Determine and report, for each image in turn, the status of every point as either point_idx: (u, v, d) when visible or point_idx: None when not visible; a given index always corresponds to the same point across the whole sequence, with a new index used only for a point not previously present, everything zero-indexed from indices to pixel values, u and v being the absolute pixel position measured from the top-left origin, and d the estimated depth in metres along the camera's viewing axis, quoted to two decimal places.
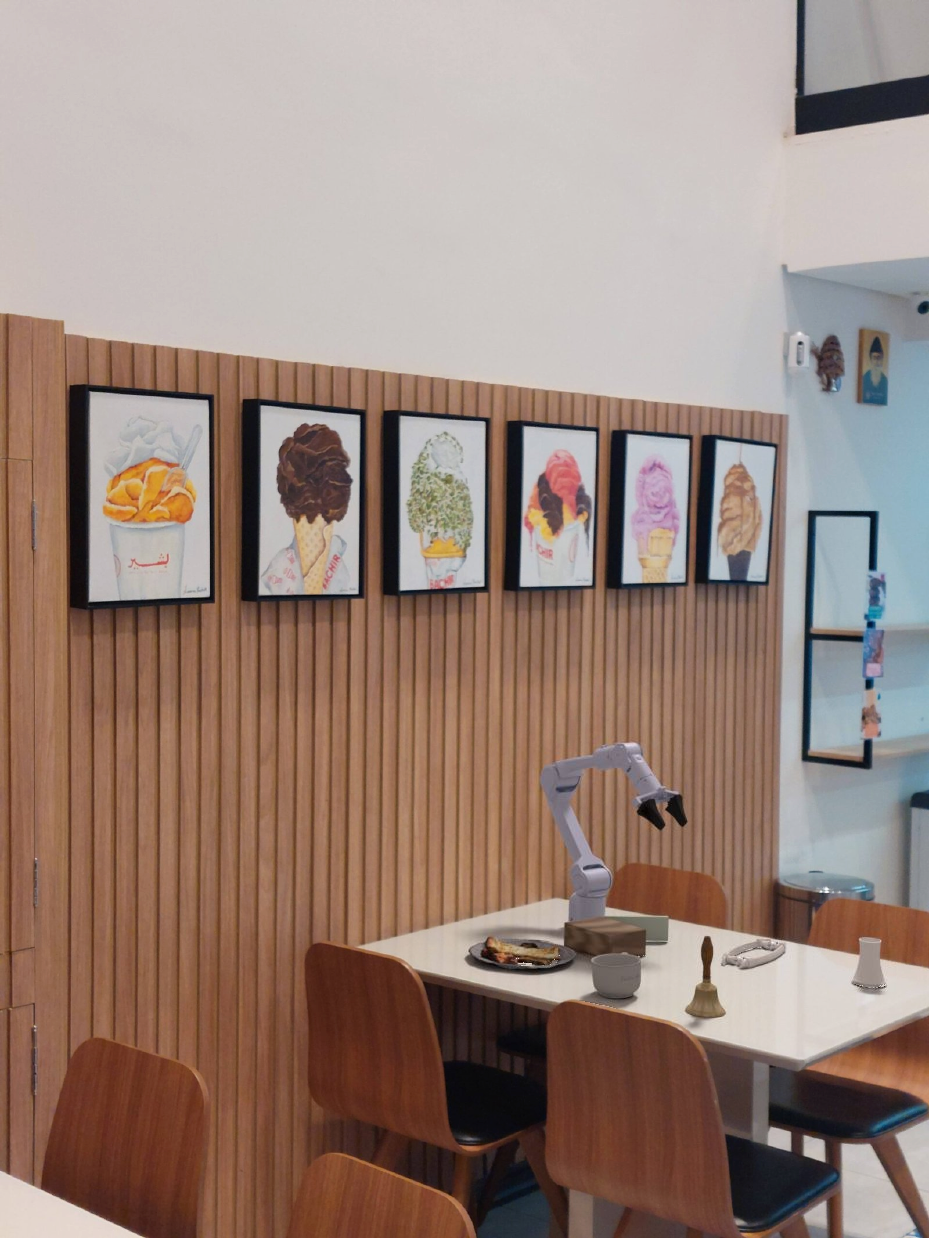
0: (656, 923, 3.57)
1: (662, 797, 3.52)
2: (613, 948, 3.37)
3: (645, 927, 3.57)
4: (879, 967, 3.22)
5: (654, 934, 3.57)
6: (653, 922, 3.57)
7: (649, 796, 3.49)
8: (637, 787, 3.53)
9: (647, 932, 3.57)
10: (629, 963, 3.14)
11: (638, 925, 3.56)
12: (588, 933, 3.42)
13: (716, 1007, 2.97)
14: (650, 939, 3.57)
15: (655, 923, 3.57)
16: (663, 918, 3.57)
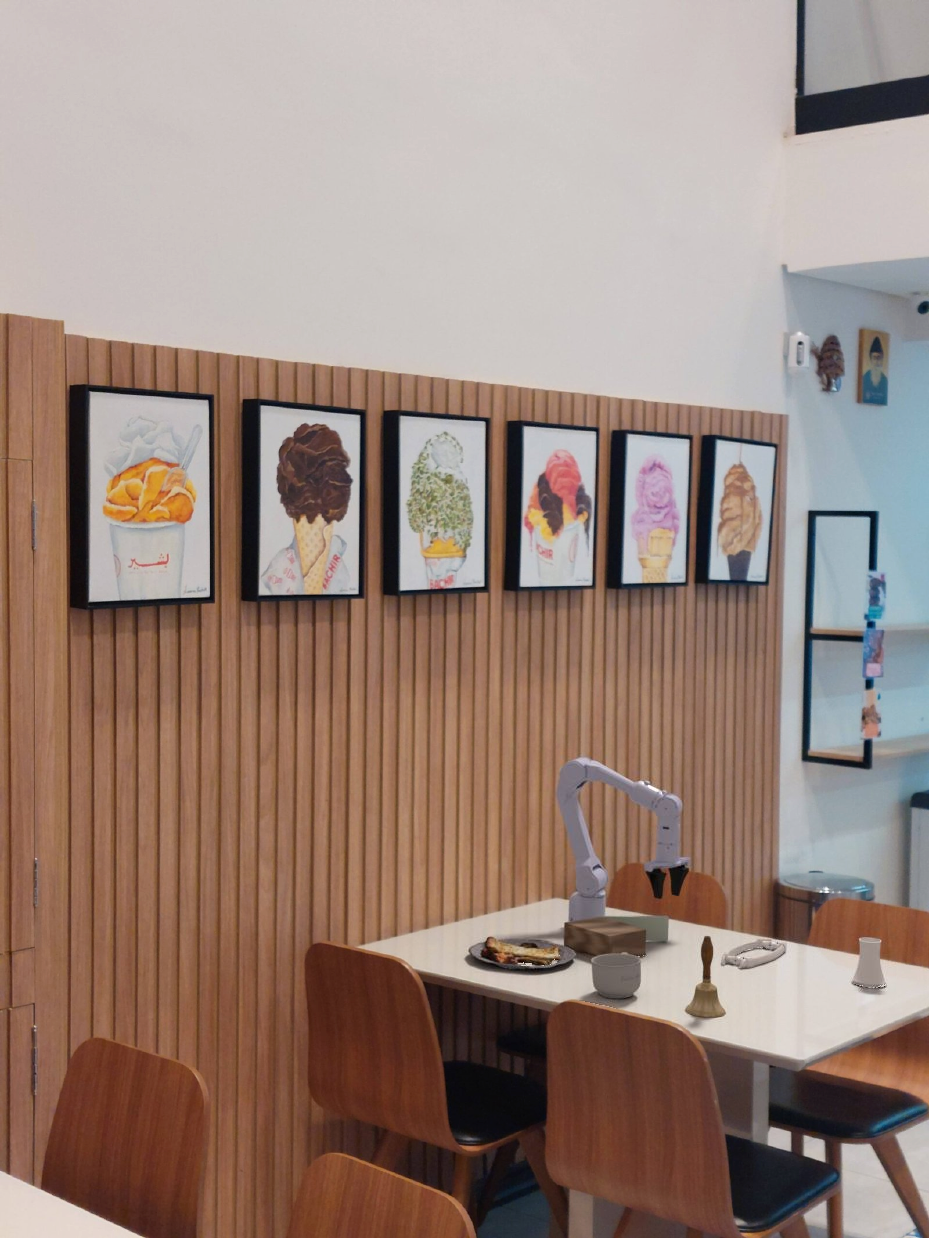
0: (656, 923, 3.57)
1: None
2: (613, 948, 3.37)
3: (645, 927, 3.57)
4: (879, 967, 3.22)
5: (654, 934, 3.57)
6: (653, 922, 3.57)
7: (662, 865, 3.58)
8: (658, 846, 3.60)
9: (647, 932, 3.57)
10: (629, 962, 3.14)
11: (638, 925, 3.56)
12: (588, 933, 3.42)
13: (716, 1007, 2.97)
14: (650, 939, 3.57)
15: (655, 923, 3.57)
16: (663, 918, 3.57)
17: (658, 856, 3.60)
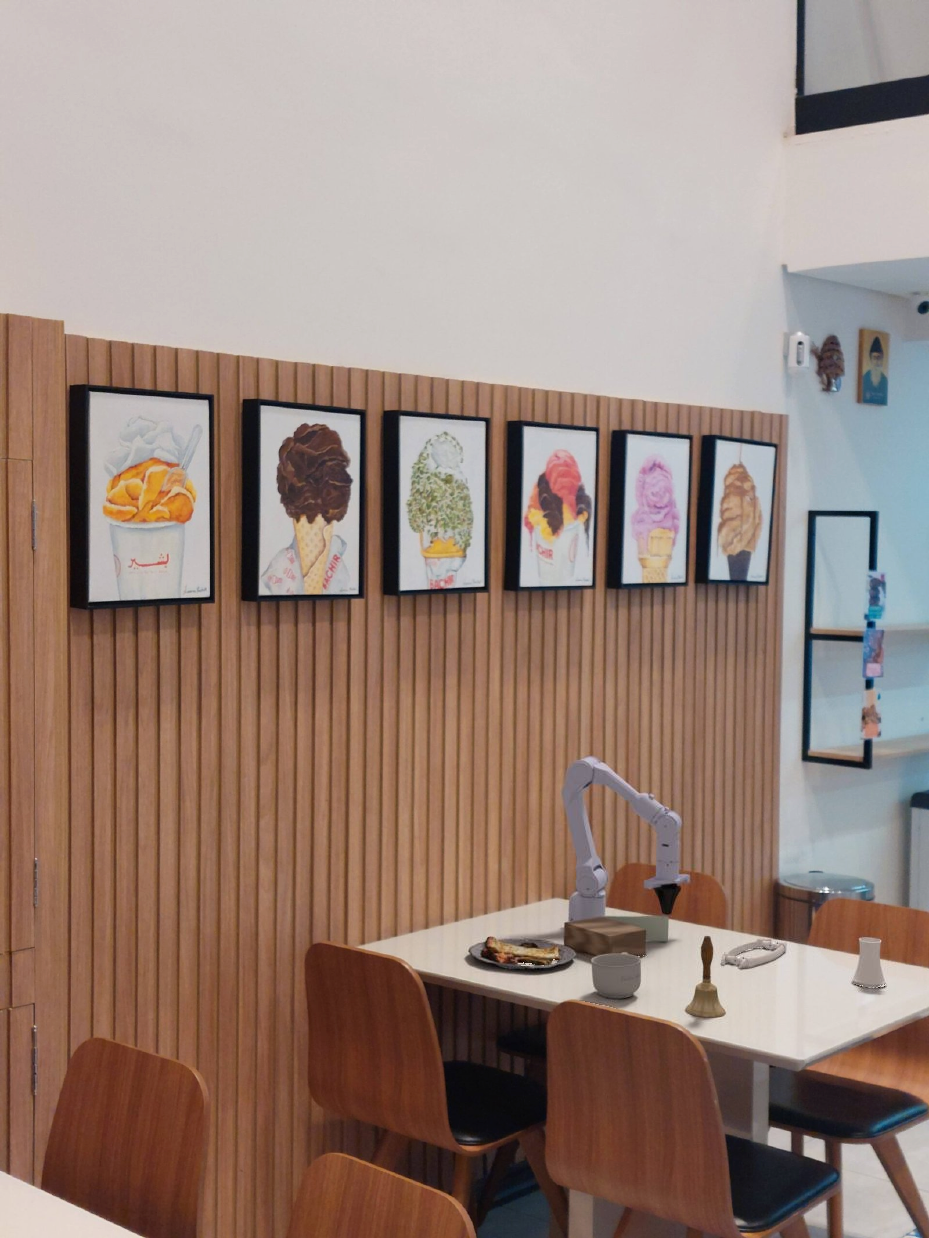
0: (656, 923, 3.57)
1: None
2: (613, 948, 3.37)
3: (645, 927, 3.57)
4: (879, 967, 3.22)
5: (654, 934, 3.57)
6: (653, 922, 3.57)
7: None
8: (658, 863, 3.60)
9: (647, 932, 3.57)
10: (629, 962, 3.14)
11: (638, 925, 3.56)
12: (588, 933, 3.42)
13: (716, 1007, 2.97)
14: (650, 939, 3.57)
15: (655, 923, 3.57)
16: (663, 918, 3.57)
17: (658, 873, 3.60)
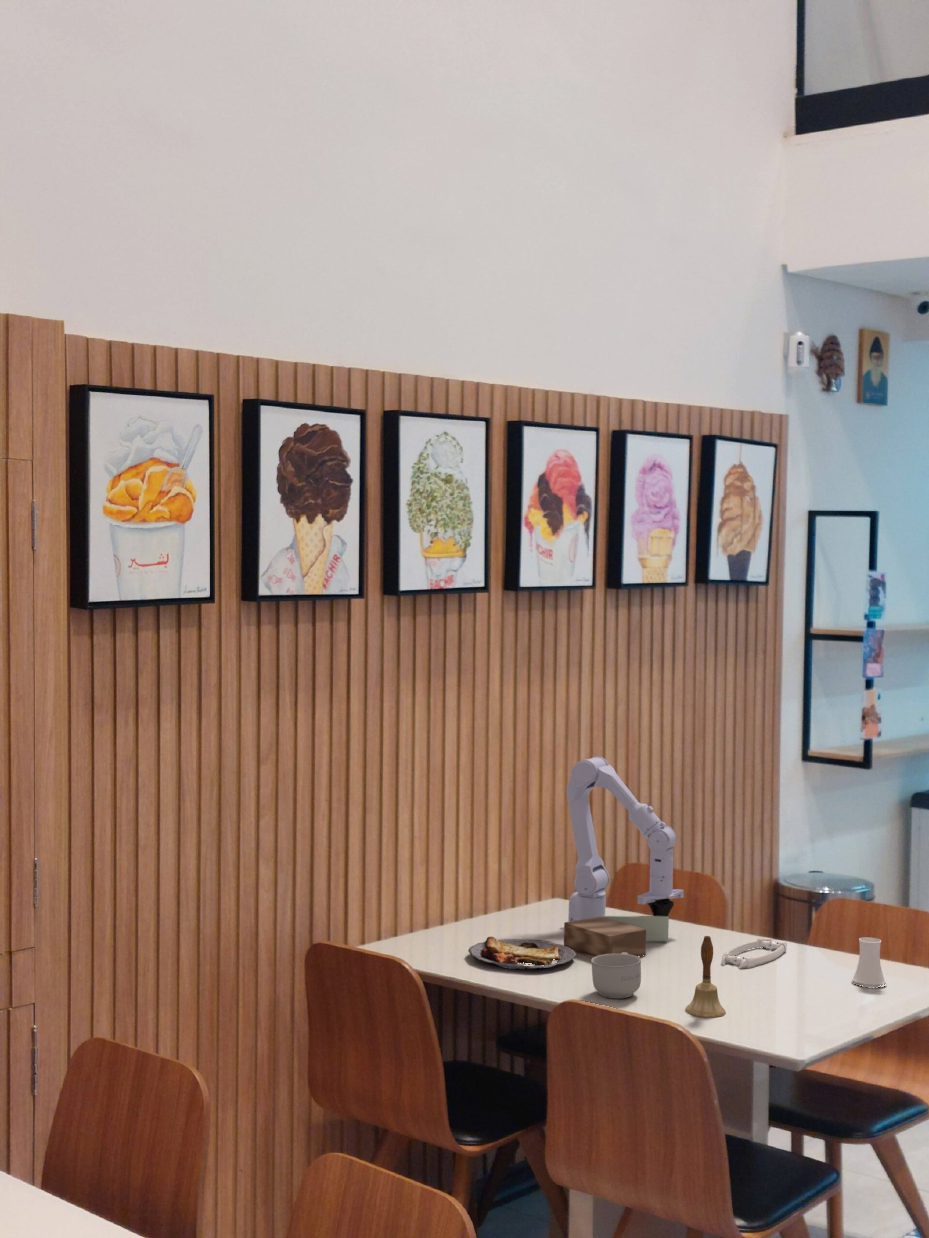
0: (656, 923, 3.57)
1: None
2: (613, 948, 3.37)
3: (645, 927, 3.56)
4: (879, 967, 3.22)
5: (654, 934, 3.57)
6: (653, 922, 3.56)
7: (655, 898, 3.57)
8: (651, 879, 3.59)
9: (647, 932, 3.57)
10: (629, 963, 3.14)
11: (638, 925, 3.56)
12: (588, 933, 3.42)
13: (716, 1007, 2.97)
14: (650, 939, 3.57)
15: (655, 923, 3.57)
16: (663, 918, 3.57)
17: (651, 889, 3.59)
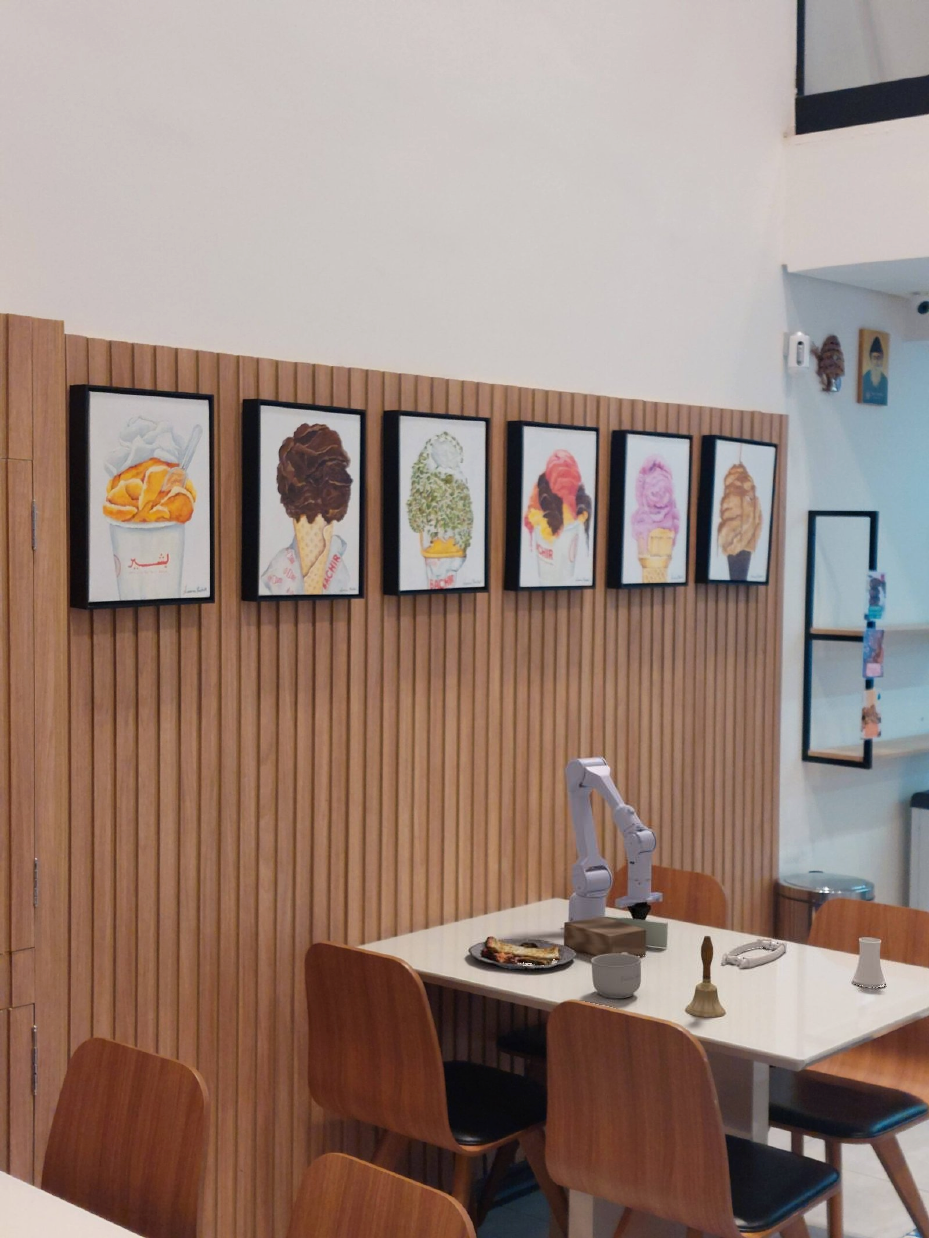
0: (654, 928, 3.51)
1: None
2: (613, 948, 3.37)
3: None
4: (879, 967, 3.22)
5: (652, 939, 3.51)
6: (651, 927, 3.51)
7: None
8: (629, 882, 3.54)
9: None
10: (629, 963, 3.14)
11: None
12: (588, 933, 3.42)
13: (716, 1007, 2.97)
14: (648, 944, 3.52)
15: (653, 928, 3.51)
16: (661, 924, 3.50)
17: (629, 892, 3.54)
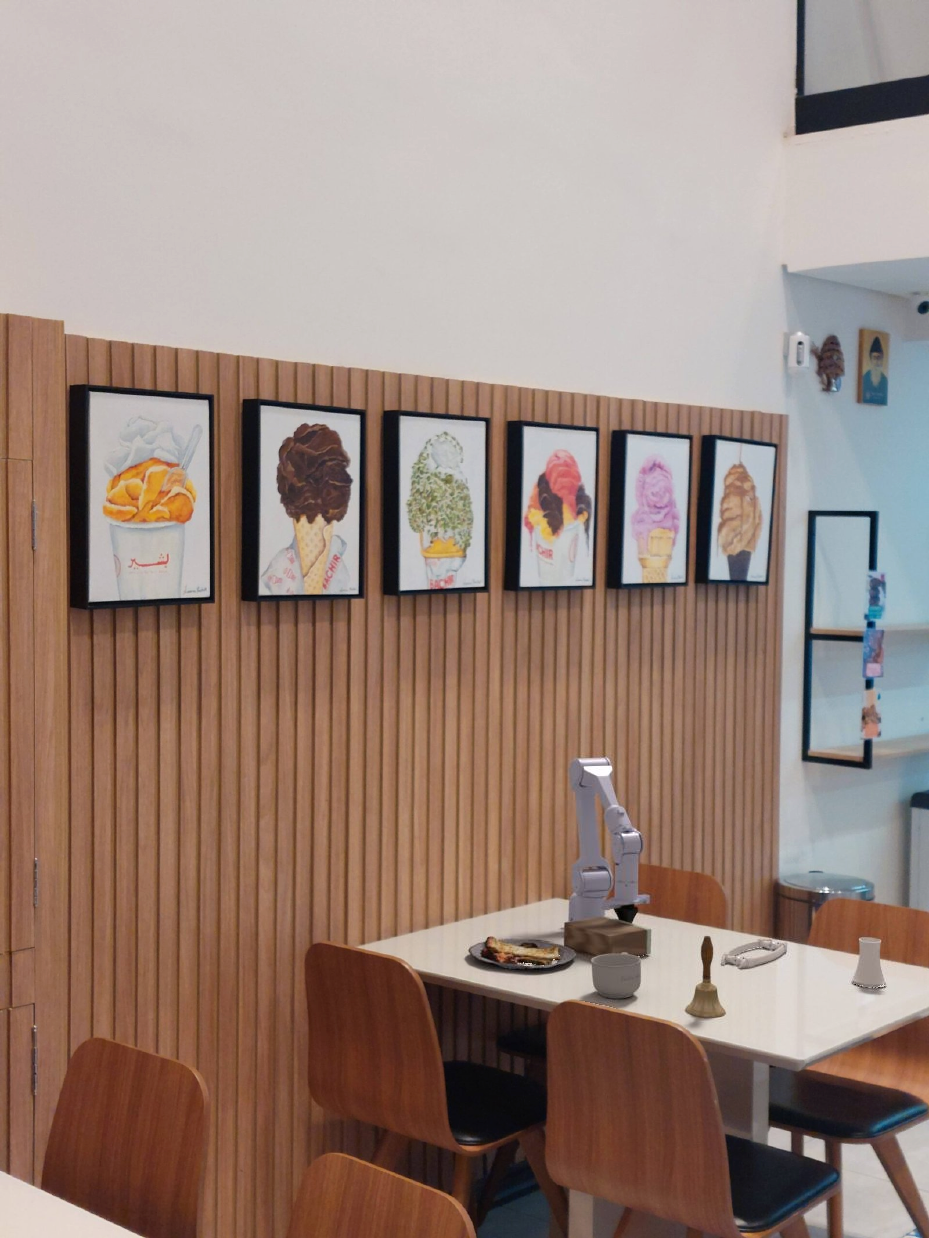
0: None
1: None
2: (613, 948, 3.37)
3: None
4: (879, 967, 3.22)
5: None
6: None
7: None
8: (616, 884, 3.51)
9: None
10: (629, 963, 3.14)
11: None
12: (588, 933, 3.42)
13: (716, 1007, 2.97)
14: None
15: None
16: None
17: (616, 894, 3.51)
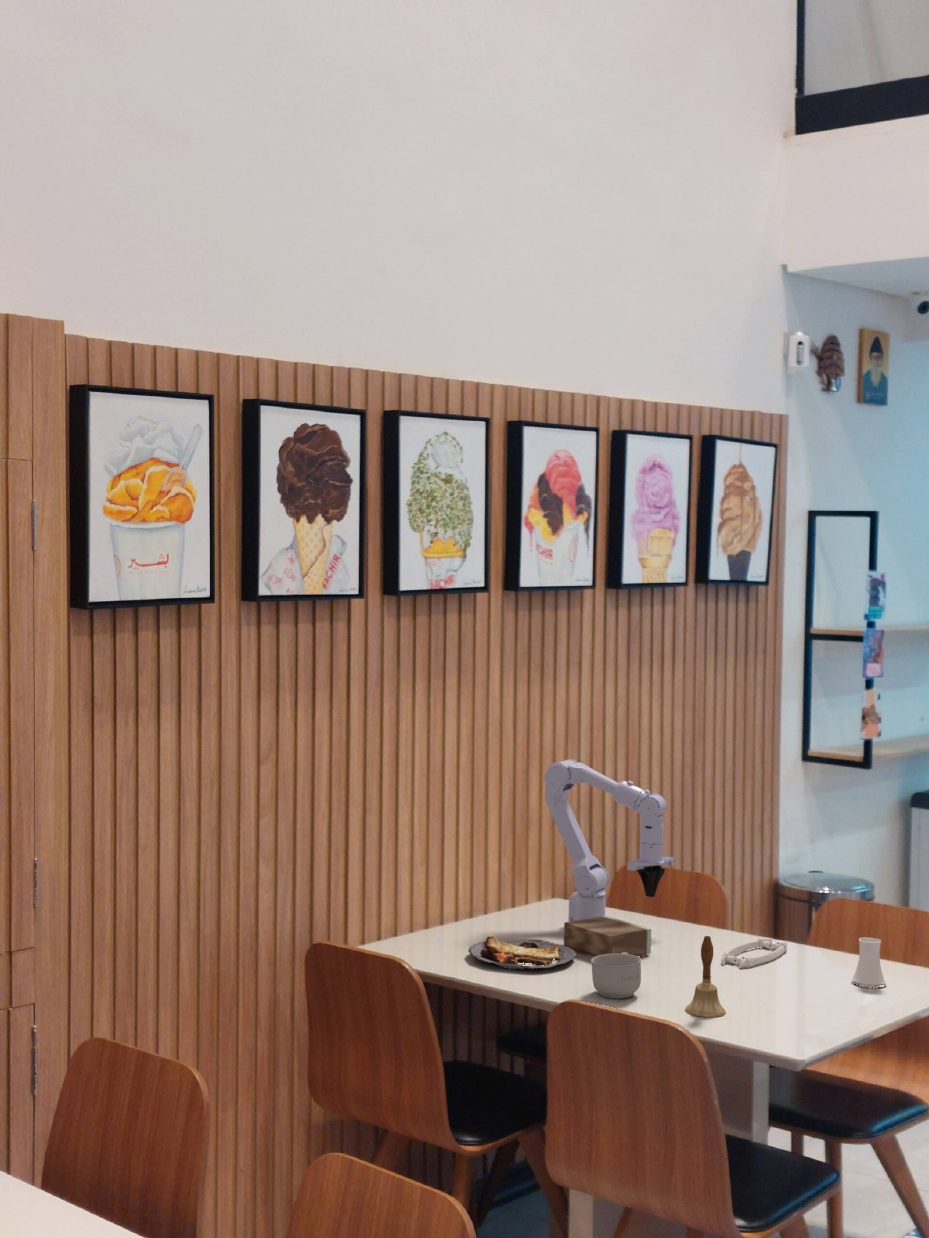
0: None
1: None
2: (613, 948, 3.37)
3: None
4: (879, 967, 3.22)
5: None
6: None
7: None
8: (641, 845, 3.60)
9: None
10: (629, 962, 3.14)
11: None
12: (588, 933, 3.42)
13: (716, 1007, 2.97)
14: None
15: None
16: None
17: (641, 855, 3.60)
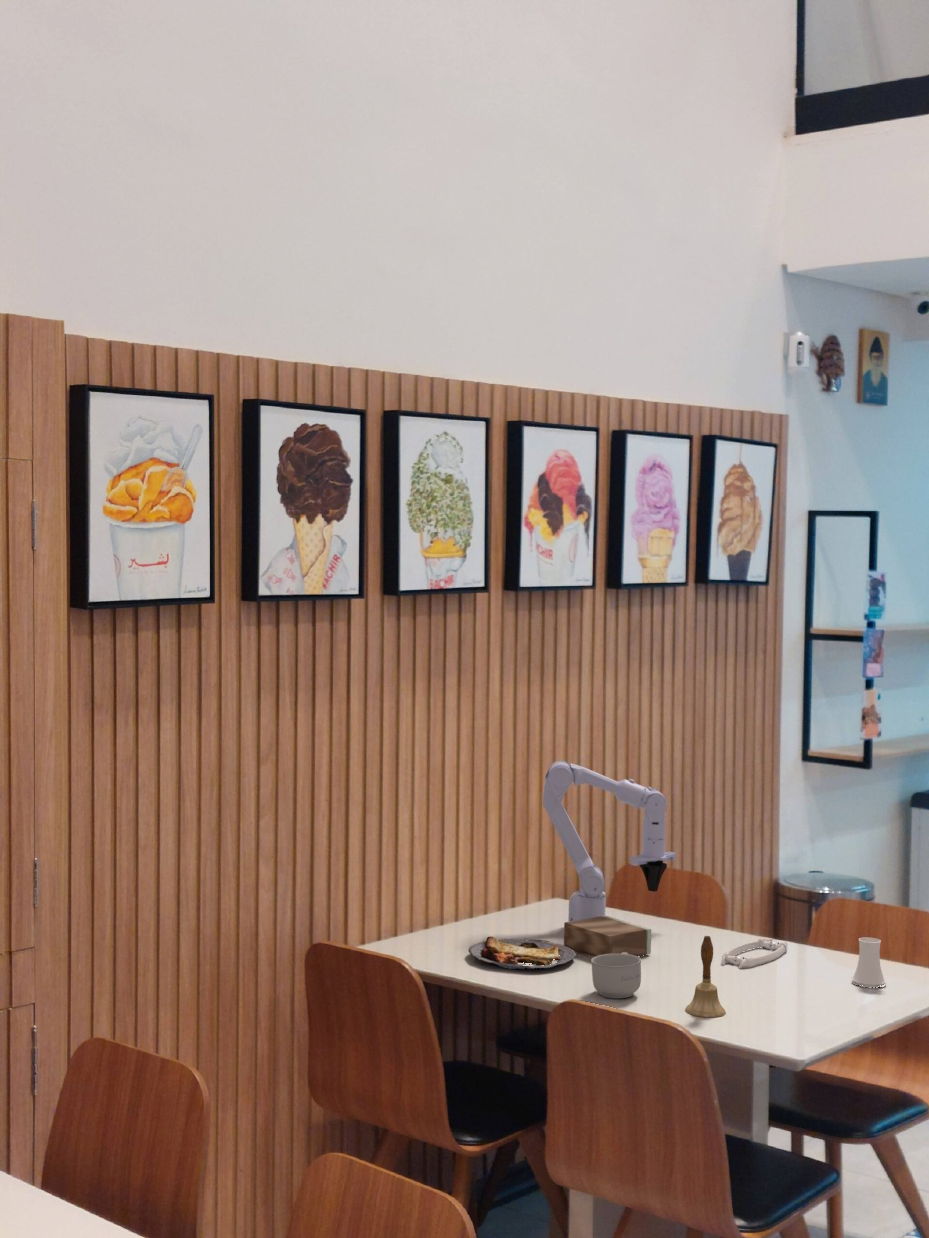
0: None
1: None
2: (613, 948, 3.37)
3: None
4: (879, 967, 3.22)
5: None
6: None
7: None
8: (644, 841, 3.67)
9: None
10: (629, 963, 3.14)
11: None
12: (588, 933, 3.42)
13: (716, 1007, 2.97)
14: None
15: None
16: None
17: (644, 851, 3.67)
